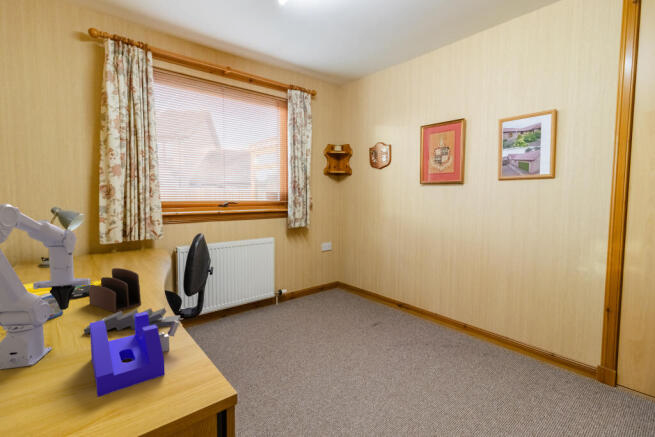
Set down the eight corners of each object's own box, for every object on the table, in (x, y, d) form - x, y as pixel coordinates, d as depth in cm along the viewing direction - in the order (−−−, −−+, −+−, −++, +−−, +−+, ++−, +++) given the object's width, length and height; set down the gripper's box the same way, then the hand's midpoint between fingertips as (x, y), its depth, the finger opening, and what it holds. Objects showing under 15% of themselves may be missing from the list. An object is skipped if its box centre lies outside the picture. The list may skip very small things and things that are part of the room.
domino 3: (117, 330, 104) (147, 317, 106) (115, 326, 104) (145, 313, 105) (124, 324, 109) (153, 312, 110) (122, 320, 109) (150, 308, 110)
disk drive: (99, 295, 141) (92, 288, 152) (98, 289, 141) (92, 282, 151) (69, 301, 134) (64, 292, 144) (69, 294, 134) (64, 287, 144)
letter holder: (115, 297, 138) (113, 265, 137) (141, 305, 128) (140, 271, 127) (89, 304, 129) (87, 270, 128) (115, 313, 119) (113, 277, 118)
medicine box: (40, 323, 110) (38, 298, 109) (30, 321, 111) (28, 297, 110) (63, 314, 118) (62, 292, 117) (54, 313, 119) (52, 291, 118)
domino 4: (132, 329, 105) (162, 317, 106) (130, 325, 105) (160, 313, 106) (138, 323, 110) (166, 311, 111) (136, 319, 110) (164, 307, 111)
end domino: (145, 328, 106) (177, 325, 109) (145, 323, 106) (177, 320, 109) (149, 322, 111) (180, 319, 114) (149, 318, 111) (180, 315, 113)
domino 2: (102, 332, 103) (133, 318, 105) (99, 328, 102) (131, 314, 104) (108, 326, 108) (138, 313, 110) (106, 322, 107) (136, 309, 109)
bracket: (91, 360, 86) (89, 323, 86) (147, 345, 95) (146, 311, 94) (97, 398, 70) (95, 353, 70) (164, 376, 79) (163, 335, 78)
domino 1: (85, 334, 101) (118, 320, 104) (83, 329, 101) (115, 316, 103) (92, 327, 106) (123, 314, 108) (90, 323, 106) (121, 310, 108)
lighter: (153, 354, 89) (152, 327, 88) (152, 352, 90) (151, 325, 90) (180, 347, 93) (179, 320, 93) (178, 344, 95) (178, 319, 94)
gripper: (93, 263, 106) (95, 302, 107) (41, 265, 102) (44, 306, 103) (84, 267, 99) (86, 309, 100) (27, 270, 95) (30, 314, 96)
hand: (64, 308), depth 101 cm, fingers closed
